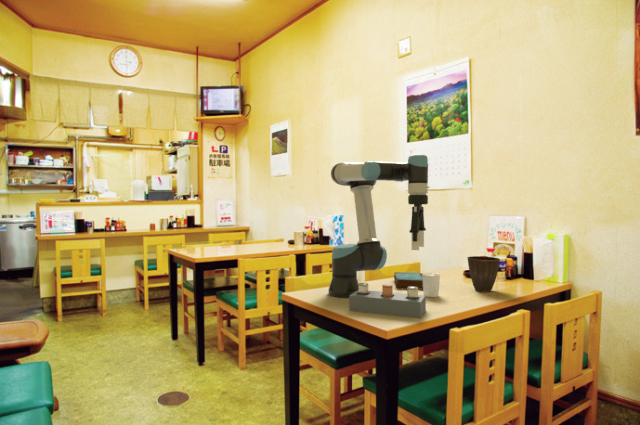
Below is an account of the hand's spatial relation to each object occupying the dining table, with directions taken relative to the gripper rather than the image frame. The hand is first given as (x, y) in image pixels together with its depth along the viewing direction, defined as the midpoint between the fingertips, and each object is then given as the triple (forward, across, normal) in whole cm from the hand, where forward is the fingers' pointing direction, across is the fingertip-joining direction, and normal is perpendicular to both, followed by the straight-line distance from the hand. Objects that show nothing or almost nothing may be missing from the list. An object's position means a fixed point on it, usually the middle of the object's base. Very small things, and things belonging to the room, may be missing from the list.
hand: (417, 248), depth 158 cm
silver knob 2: (+20, -3, +2) cm, 21 cm away
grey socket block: (+25, -3, +12) cm, 28 cm away
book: (+26, +54, +11) cm, 61 cm away
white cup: (+25, +31, -2) cm, 40 cm away
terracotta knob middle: (+21, -3, +11) cm, 24 cm away
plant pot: (+25, +52, -24) cm, 63 cm away
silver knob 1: (+20, -3, +22) cm, 30 cm away
